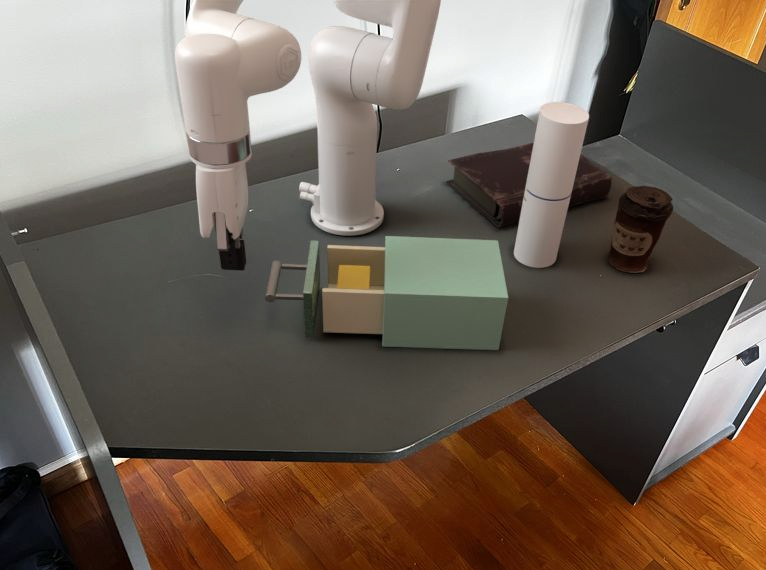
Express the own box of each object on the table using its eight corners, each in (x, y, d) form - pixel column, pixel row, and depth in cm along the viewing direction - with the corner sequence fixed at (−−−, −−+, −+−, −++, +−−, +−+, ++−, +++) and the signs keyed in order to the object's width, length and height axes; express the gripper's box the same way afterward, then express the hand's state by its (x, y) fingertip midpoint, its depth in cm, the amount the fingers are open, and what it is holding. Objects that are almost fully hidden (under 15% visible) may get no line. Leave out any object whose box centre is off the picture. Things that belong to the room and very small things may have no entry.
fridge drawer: (265, 335, 103) (261, 291, 98) (276, 281, 112) (272, 238, 107) (415, 340, 104) (419, 296, 99) (413, 286, 114) (417, 244, 108)
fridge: (382, 346, 104) (384, 293, 98) (383, 287, 114) (385, 235, 108) (498, 350, 105) (508, 297, 99) (489, 291, 115) (498, 240, 109)
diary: (608, 200, 138) (615, 176, 135) (500, 231, 128) (504, 206, 125) (547, 156, 150) (552, 133, 146) (443, 182, 140) (445, 157, 136)
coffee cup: (642, 285, 119) (665, 216, 110) (594, 267, 122) (613, 198, 113) (659, 260, 125) (682, 192, 116) (613, 243, 128) (632, 175, 119)
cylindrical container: (529, 271, 120) (558, 127, 103) (505, 248, 124) (530, 106, 108) (564, 261, 123) (599, 119, 106) (540, 239, 127) (569, 99, 110)
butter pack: (337, 315, 106) (336, 287, 102) (339, 292, 110) (339, 264, 106) (368, 316, 106) (369, 289, 102) (369, 293, 110) (370, 265, 107)
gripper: (200, 115, 95) (216, 235, 108) (174, 171, 84) (195, 298, 97) (259, 118, 96) (268, 238, 108) (241, 175, 85) (253, 301, 97)
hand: (234, 266), depth 102 cm, fingers closed
